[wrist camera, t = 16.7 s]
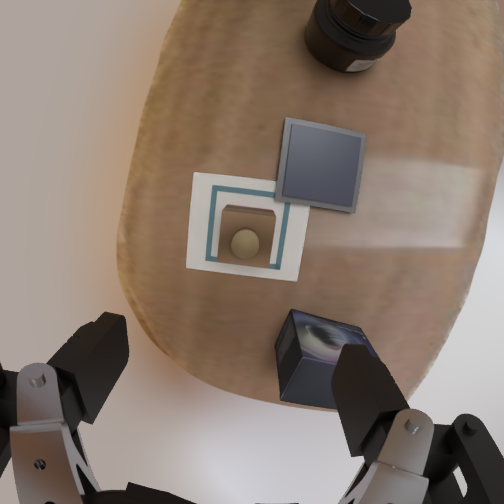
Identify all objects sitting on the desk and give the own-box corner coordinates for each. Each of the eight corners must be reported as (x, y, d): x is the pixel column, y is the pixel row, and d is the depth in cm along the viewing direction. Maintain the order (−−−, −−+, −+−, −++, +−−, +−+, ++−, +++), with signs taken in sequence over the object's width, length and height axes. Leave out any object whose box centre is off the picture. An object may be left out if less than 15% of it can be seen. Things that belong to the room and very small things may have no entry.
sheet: (194, 172, 30) (193, 172, 30) (312, 186, 30) (313, 187, 30) (186, 267, 33) (185, 268, 33) (296, 280, 33) (296, 281, 33)
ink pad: (284, 119, 28) (286, 116, 26) (362, 135, 28) (367, 133, 27) (274, 199, 31) (275, 201, 29) (351, 211, 31) (356, 213, 29)
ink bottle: (361, 90, 27) (410, 56, 15) (291, 56, 26) (309, 2, 14) (382, 35, 24) (427, -7, 13) (319, 3, 23) (343, -52, 12)
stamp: (227, 204, 31) (219, 213, 24) (273, 209, 31) (278, 220, 24) (222, 248, 32) (213, 269, 25) (266, 253, 32) (269, 276, 25)
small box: (363, 324, 35) (393, 372, 25) (342, 362, 37) (363, 414, 27) (291, 305, 34) (303, 356, 24) (272, 347, 36) (277, 403, 26)
